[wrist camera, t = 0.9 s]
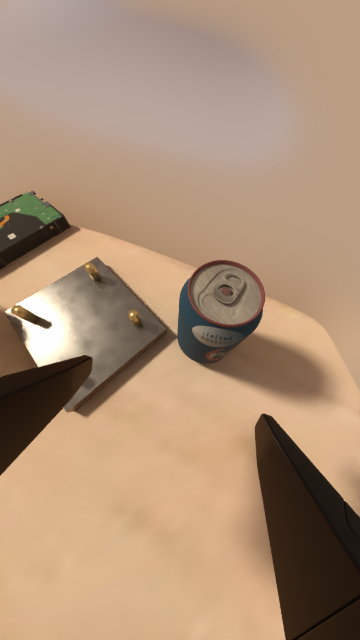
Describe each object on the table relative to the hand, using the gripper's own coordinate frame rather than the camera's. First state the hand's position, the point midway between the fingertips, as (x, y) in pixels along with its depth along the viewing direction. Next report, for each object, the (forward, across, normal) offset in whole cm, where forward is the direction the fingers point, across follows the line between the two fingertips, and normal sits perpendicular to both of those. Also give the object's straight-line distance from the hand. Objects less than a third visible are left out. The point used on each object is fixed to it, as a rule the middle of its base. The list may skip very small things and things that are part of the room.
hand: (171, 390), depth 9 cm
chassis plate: (+13, +14, +5) cm, 20 cm away
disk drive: (+22, +34, -2) cm, 40 cm away
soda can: (+15, -2, +4) cm, 16 cm away
